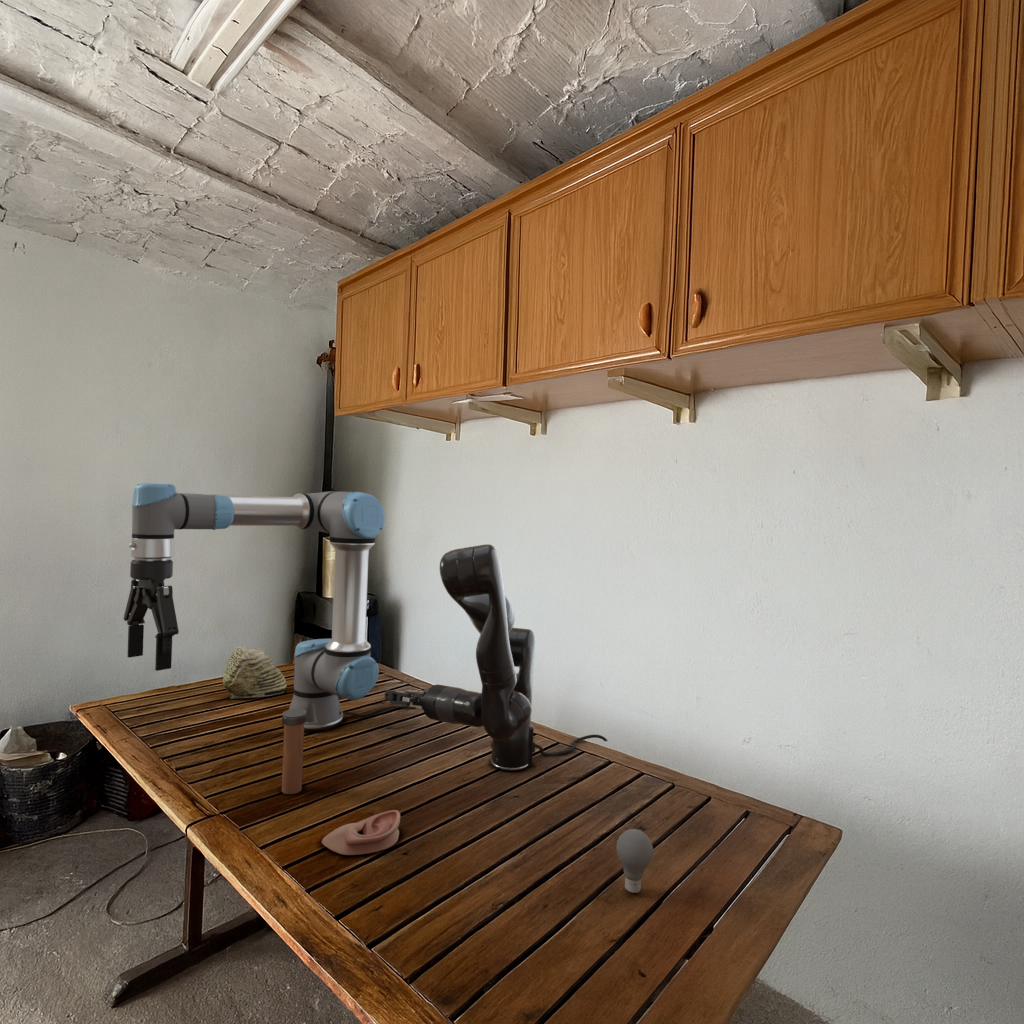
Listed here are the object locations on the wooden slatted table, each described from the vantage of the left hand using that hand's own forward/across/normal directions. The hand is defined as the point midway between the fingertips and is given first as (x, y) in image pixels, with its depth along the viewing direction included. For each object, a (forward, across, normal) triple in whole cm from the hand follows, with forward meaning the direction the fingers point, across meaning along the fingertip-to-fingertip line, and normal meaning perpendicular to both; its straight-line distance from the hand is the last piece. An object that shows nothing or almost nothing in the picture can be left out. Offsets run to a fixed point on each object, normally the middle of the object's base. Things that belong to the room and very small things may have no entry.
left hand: (148, 662), depth 129 cm
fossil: (+28, -47, +50) cm, 74 cm away
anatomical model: (+28, +45, +20) cm, 56 cm away
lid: (+12, +18, +23) cm, 31 cm away
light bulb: (+28, +90, +41) cm, 103 cm away
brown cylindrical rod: (+28, +18, +23) cm, 40 cm away
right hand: (+10, +26, +45) cm, 53 cm away
